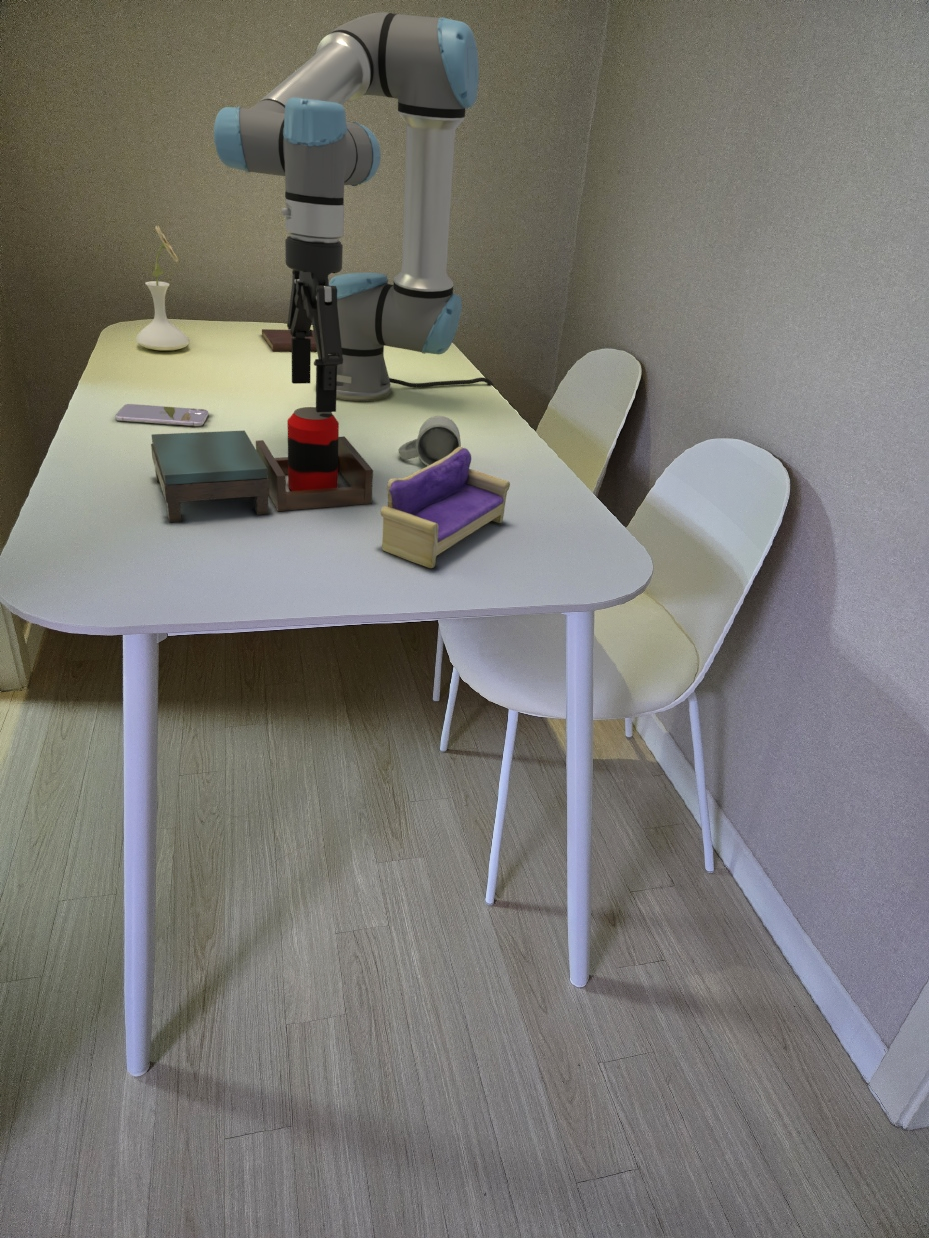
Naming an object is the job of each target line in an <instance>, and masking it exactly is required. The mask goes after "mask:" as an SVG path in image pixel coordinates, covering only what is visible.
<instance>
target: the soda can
mask: <svg viewBox="0 0 929 1238" xmlns="http://www.w3.org/2000/svg"><path fill="white" fill-rule="evenodd" d="M286 423H287V457H288V474H287V476H288V477H287V479H288V480H287V482H288V483H287V484H288V488H289V490H290V491H303V490H316V489H329V488H339V486H338V485H339V484H338V483H339V481H338V478H339V471H338V439H339V437H340V435H339V434H340V423H339V421H338V420H337V418H336V417H335V416H334V414H333V412H317V411H316V406H305V407H304V406H303V407H299V408H297V409H295V410H294V411H293V413H292V414H291V415H290V416H289V417H288V419H287V421H286Z"/></svg>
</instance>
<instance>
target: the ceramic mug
mask: <svg viewBox="0 0 929 1238" xmlns="http://www.w3.org/2000/svg"><path fill="white" fill-rule="evenodd" d="M461 442H462V441H461V433H460V430H459V427H458V425H457V424H456V423H455V421H453V420H452V419H451V418H450V417H447V416H444V415H435V416H434V415H433V416H431V417H429V418H428V419H426V420H425V421H424V422H423V423H422V425H421V426H420V427H419V430H418V435H417V438H415V439H413V440H409V441H407V442H405V443H404V444H402V445H401V446H400V447H399V448H398V449H397V450H398V454H399V457H400V459H401V460H411V459H415V458H418V459H419V460H420V461H421V462H422V463H423V464H424V465H425V466H426V467H427V466H429V465H431V464H433V463H435V462H437V461H439V460H441V459H442V458H444V457H446V456H448V455H449V454H450V453H452V452H453V451H454V450H455V449H456V448H458V447H462V443H461Z"/></svg>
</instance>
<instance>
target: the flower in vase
mask: <svg viewBox="0 0 929 1238" xmlns="http://www.w3.org/2000/svg"><path fill="white" fill-rule="evenodd" d="M154 228H155V231H156V233H157V235H158V237H159V240H160V241H161V244H160V246H159V247H160V248H159V250H158V252H157V255H156V258H155V266H154V268H155V270H154V271H153V272H152V273H151V274H150V276H152V277H155V280H153V281H146V282H145V283H144V284H145V286H147V288H148V290H149V292H150V295H151V297H152V302H153V307H154V317H153V320H151V322H150V323H148V324H147V325H146V326H145V327H143V328H142V329H141V330H140V331H139V332H138V333H137V335H136V338H135V341H136V343H137V344H138V345H139V346H141V347H143V348H146V349H149V350H155V351H175V350H180V349H183V348H186V347H188V345H189V344H190V340H189V337H188V336H187V335H186V333H184V332H183V331H182V330H181V329H180V328H178V327H177V326H176V325H174V324H173V323H172V322H171V321H170V320H169V319H168V317H167V314H166V313H167V311H166V303H165V302H166V293H167V290H168V288H169V287H170V285H171V284H170V283H169V282H166V281H160V280H159V279H158V277H159V276H160V275H163V274H164V271H163V270H162V268H161V265H160V264H159V262H158V261H159V258H160V254H161V252H162V250H166V251H167V253H168V254H169V255H170V257H171V258H172V259H173V261H174V262H175V263H179V261H180V260H179V258H178V256H177V254H176V253H175V252H174V250H173V247H172V245H171V244H170V243H169V242H168V240H167V238H166V235H165V233H163V232H162V230H161V228H160V225H155V227H154Z"/></svg>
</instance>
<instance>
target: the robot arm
mask: <svg viewBox="0 0 929 1238" xmlns="http://www.w3.org/2000/svg"><path fill="white" fill-rule="evenodd" d="M316 47H317V48H316V50H315V54H314V55H313V56H311V58H309V59H308V60H307V61H305V62H304V63H303V64H302V65H301V66H300V67H298V68H297V69H296V70H295V71H294V72H293V73H291V74H290V75H289V76H287V77H286V78H285V79H284V80H283V81H281V82H280V83H279V84H278V85H277V86H276V87H274V88H273V89H272V90H271V91H269V92H268V93H266V95H265V96H263V97H262V98H261V99H259V101H257V102H256V103H255V104H254V105H253V106H252V107H250V108H244V107H242V106H236V107H234V106H233V107H232V106H226V107H223V108H221V109H220V110H219V111H218V113H217V115H216V117H215V120H214V123H213V124H214V125H213V142H214V145H215V151H216V153H217V156H218V158H219V159H220V161H221V163H222V164H223V165H225V166H226V167H228V168H230V169H235V170H239V171H244V172H246V173H255V174H264V175H272V176H279V177H284V185H285V191H284V197H285V206H283V207H281V209H280V212H281V215H282V216H285V231H286V232H287V233H288V234H289V235H288V236H287V237H286V238H285V241H284V243H285V245H284V246H285V248H284V249H285V251H284V252H285V254H284V255H285V265H286V266H287V268H289V269H291V273H292V283H291V290H290V298H289V299H290V300H289V307H288V314H287V315H288V316H287V317H288V318H287V323H286V327H287V330H290V334H291V337H294V338H291V343H292V351H291V383H292V384H294V385H296V384H300V385H301V384H311V371H312V370H311V366H312V365H311V362H312V361H311V355H312V351H311V340H310V339H308V338H305V337H313V336H312V335H313V334H312V330H313V331H314V337H315V343H316V348H317V351H316V353H317V358H315V360H314V361H313V366H314V367H315V407H316V411H317V412H332V413H336V412H337V400H344V401H350V402H351V401H352V402H372V401H379V400H382V399H386V398H387V397H389V396H390V395H391V385H392V384H395V385H396V384H397V385H399V386H403V387H408V388H414V389H415V388H416V389H417V388H418V389H419V388H430V387H441V386H443V387H444V386H457V385H474V384H476V383H486V384H487V386H494V383H493V382H492V381H491V380H490V379H489V378H487V377H476V378H472V379H457V380H439V381H429V382H408V381H405V380H401V379H398V378H397V379H396V378H392V377H390V376H389V372H388V368H387V364H386V361H385V355H384V351H385V347H390V348H395V349H402V350H406V351H413V352H416V353H417V352H418V353H422V354H430V355H443V354H445V353H446V352H447V351H448V350H449V349H450V347H451V345H452V344H453V341H454V339H455V336H456V334H457V330H458V327H459V323H460V319H461V314H462V307H463V305H462V297H461V296H460V295H458V294H457V293H454V281H453V280H452V279H451V277H450V276H449V275H448V273H447V268H448V267H447V266H448V253H449V235H450V220H451V206H452V205H451V204H452V191H453V190H452V188H453V173H454V156H455V143H456V142H455V141H456V130H457V129H458V127H459V126H460V124H462V123H463V121H464V120H465V119H466V110H468V109H470V108H472V107H473V106H474V105H475V104H476V101H477V98H478V90H479V85H480V84H479V80H480V67H479V55H478V48H477V43H476V39H475V35H474V33H473V30H472V29H471V27H470V26H469V25H468V24H467V23H465V22H464V21H460V20H456V19H455V20H454V19H450V18H446V17H444V16H442V17H433V16H422V15H412V14H403V13H393V12H387V11H381V12H373V13H368V14H365V15H362V16H359V17H356V18H354V19H351V20H349V21H347V22H345V23H343V24H341V25H339V26H338V27H336V28H335V29H333V30H332V31H330V32H329V33H328V34H327V35H325V36H324V37H323V38H322V39H321V40H320V42H319V44H317V46H316ZM363 96H375V97H384V98H390V99H397V114H398V115H399V116H400V118H401V119H402V121H403V122H404V123H405V153H404V155H405V156H404V158H405V159H404V189H403V190H404V191H403V217H402V219H403V220H402V221H403V222H402V249H401V250H402V252H401V253H402V254H401V269H400V271H399V272H398V273H397V274H396V275H395V276H394V277H393V284H390V283H389V278H388V276H387V274H385V273H380V272H352V273H343V274H338V273H340V272H341V271H342V270H343V250H344V249H343V248H344V245H343V244H342V241H340V239H342V238H343V237H344V233H345V232H344V229H345V228H344V227H345V198H344V197H345V186H351V187H357V186H358V185H362V184H364V183H367V182H369V181H370V180H371V179H372V178H374V176H376V174H377V172H378V170H379V168H380V165H381V159H382V154H381V148H380V147H381V146H380V144H379V141H378V139H377V136H376V135H375V134H374V133H373V132H372V130H371V129H370V128H368V127H367V126H366V125H363V124H361V123H359V122H357V121H349V120H347V118H346V116H347V114H346V113H347V112H346V109H345V107H344V105H345V104H346V103H348V102H355V101H358V100H360V98H362V97H363ZM331 274H338V275H335V276H333V277H332V278H331V279H330V280H329V276H330V275H331Z"/></svg>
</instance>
